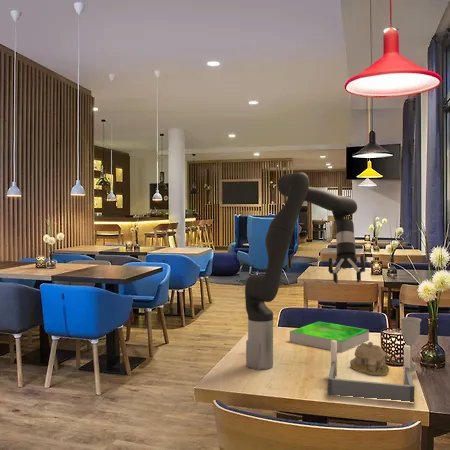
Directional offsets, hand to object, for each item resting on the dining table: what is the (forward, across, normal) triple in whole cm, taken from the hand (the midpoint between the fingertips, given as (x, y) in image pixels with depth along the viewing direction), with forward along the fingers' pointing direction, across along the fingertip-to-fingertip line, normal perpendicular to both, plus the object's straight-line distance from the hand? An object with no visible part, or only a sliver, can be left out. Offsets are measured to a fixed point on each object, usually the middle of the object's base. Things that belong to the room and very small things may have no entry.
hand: (347, 282), depth 198 cm
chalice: (+33, +21, +2) cm, 39 cm away
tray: (+19, -13, +26) cm, 35 cm away
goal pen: (+42, +9, -22) cm, 48 cm away
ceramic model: (+34, +7, -4) cm, 35 cm away
